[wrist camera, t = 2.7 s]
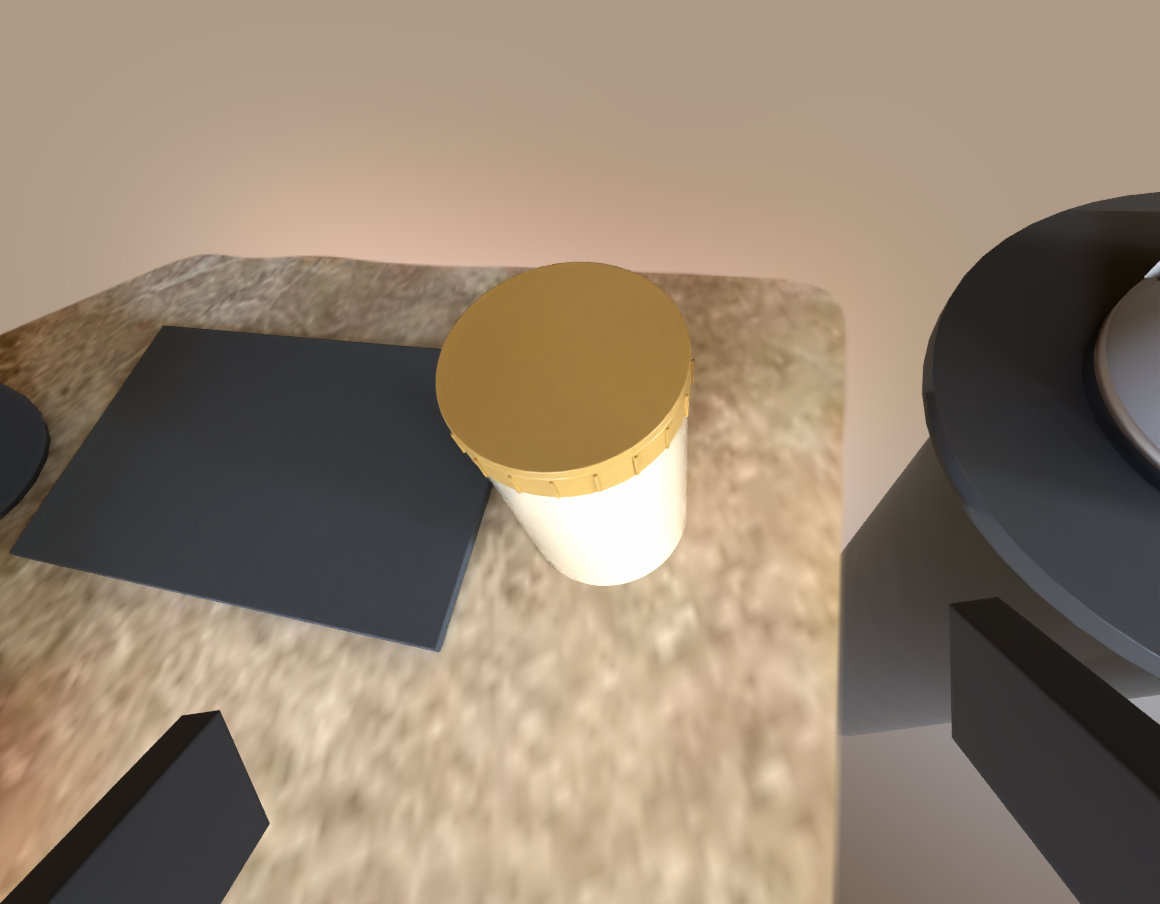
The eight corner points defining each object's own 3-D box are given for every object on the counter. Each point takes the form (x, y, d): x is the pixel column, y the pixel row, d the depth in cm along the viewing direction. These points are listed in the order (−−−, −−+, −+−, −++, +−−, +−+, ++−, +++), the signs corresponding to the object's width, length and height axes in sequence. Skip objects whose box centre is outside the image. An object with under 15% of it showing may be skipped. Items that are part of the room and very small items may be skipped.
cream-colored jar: (696, 447, 28) (703, 279, 18) (674, 599, 25) (667, 495, 15) (550, 430, 30) (484, 269, 20) (511, 570, 27) (409, 459, 17)
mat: (531, 362, 32) (529, 356, 32) (440, 652, 26) (435, 650, 25) (169, 330, 39) (162, 325, 38) (18, 556, 32) (7, 553, 31)
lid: (706, 302, 19) (708, 265, 18) (671, 517, 16) (670, 493, 14) (491, 290, 21) (477, 255, 20) (420, 480, 18) (396, 455, 16)
